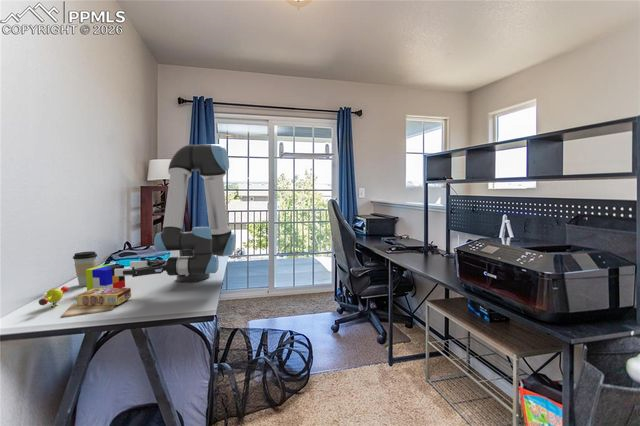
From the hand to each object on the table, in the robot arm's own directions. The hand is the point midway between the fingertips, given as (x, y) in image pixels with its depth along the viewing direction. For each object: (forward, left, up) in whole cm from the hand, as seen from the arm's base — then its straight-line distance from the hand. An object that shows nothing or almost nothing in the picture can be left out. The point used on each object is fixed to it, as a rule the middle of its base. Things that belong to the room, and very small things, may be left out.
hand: (123, 268), depth 130 cm
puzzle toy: (+9, -18, -12) cm, 24 cm away
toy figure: (+23, -1, -12) cm, 26 cm away
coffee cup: (+19, -32, -12) cm, 39 cm away
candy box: (-1, +7, -9) cm, 11 cm away
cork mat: (+10, +8, -12) cm, 17 cm away
